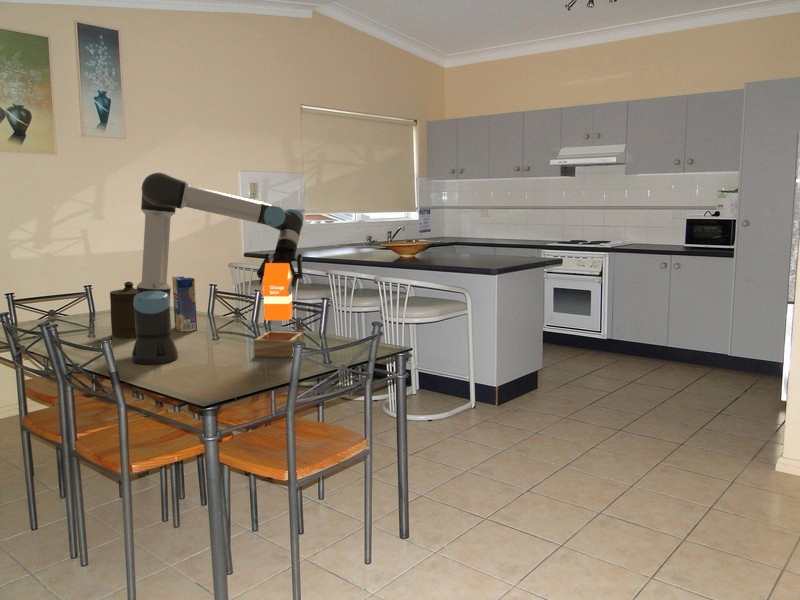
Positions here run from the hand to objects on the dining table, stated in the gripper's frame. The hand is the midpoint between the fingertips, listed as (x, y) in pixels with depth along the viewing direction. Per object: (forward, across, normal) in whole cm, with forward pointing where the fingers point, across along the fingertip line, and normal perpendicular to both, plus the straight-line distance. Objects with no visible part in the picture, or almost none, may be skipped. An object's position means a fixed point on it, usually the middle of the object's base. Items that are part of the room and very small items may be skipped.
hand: (275, 292), depth 239 cm
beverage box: (-12, +53, -44) cm, 70 cm away
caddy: (+14, 0, -18) cm, 23 cm away
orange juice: (+5, 0, -9) cm, 11 cm away
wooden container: (-2, +70, -34) cm, 78 cm away
